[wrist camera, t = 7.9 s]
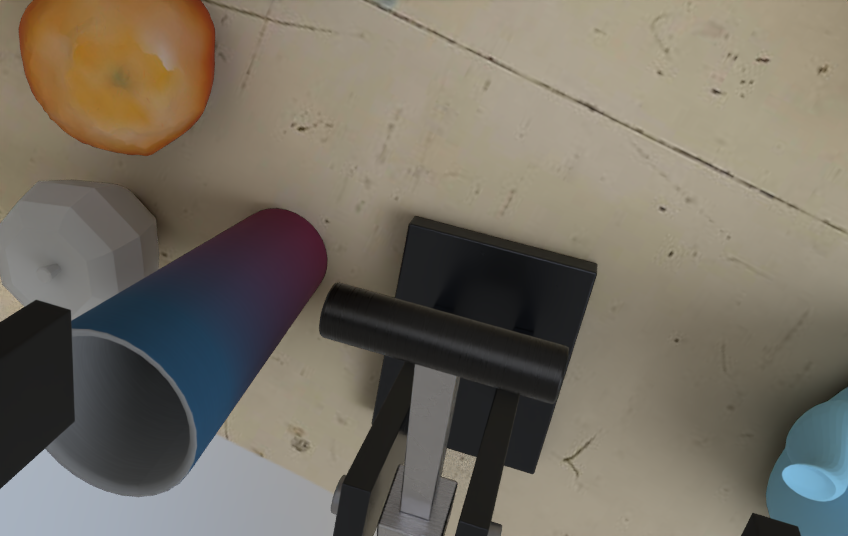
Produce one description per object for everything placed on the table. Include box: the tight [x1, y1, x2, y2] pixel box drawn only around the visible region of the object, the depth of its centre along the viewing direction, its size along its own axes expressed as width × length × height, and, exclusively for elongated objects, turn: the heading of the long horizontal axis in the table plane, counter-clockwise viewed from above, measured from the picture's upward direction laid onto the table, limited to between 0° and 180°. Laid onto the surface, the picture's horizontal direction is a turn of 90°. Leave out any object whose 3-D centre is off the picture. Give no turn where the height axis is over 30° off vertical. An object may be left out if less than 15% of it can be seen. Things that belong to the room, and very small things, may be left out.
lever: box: [319, 282, 569, 536], centre depth 23 cm, size 13×6×2 cm, turn 169°
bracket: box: [331, 216, 598, 536], centre depth 32 cm, size 12×9×15 cm
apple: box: [0, 180, 159, 321], centre depth 38 cm, size 8×8×7 cm
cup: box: [45, 208, 327, 497], centre depth 33 cm, size 7×7×15 cm
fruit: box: [19, 0, 215, 156], centre depth 34 cm, size 8×8×8 cm
